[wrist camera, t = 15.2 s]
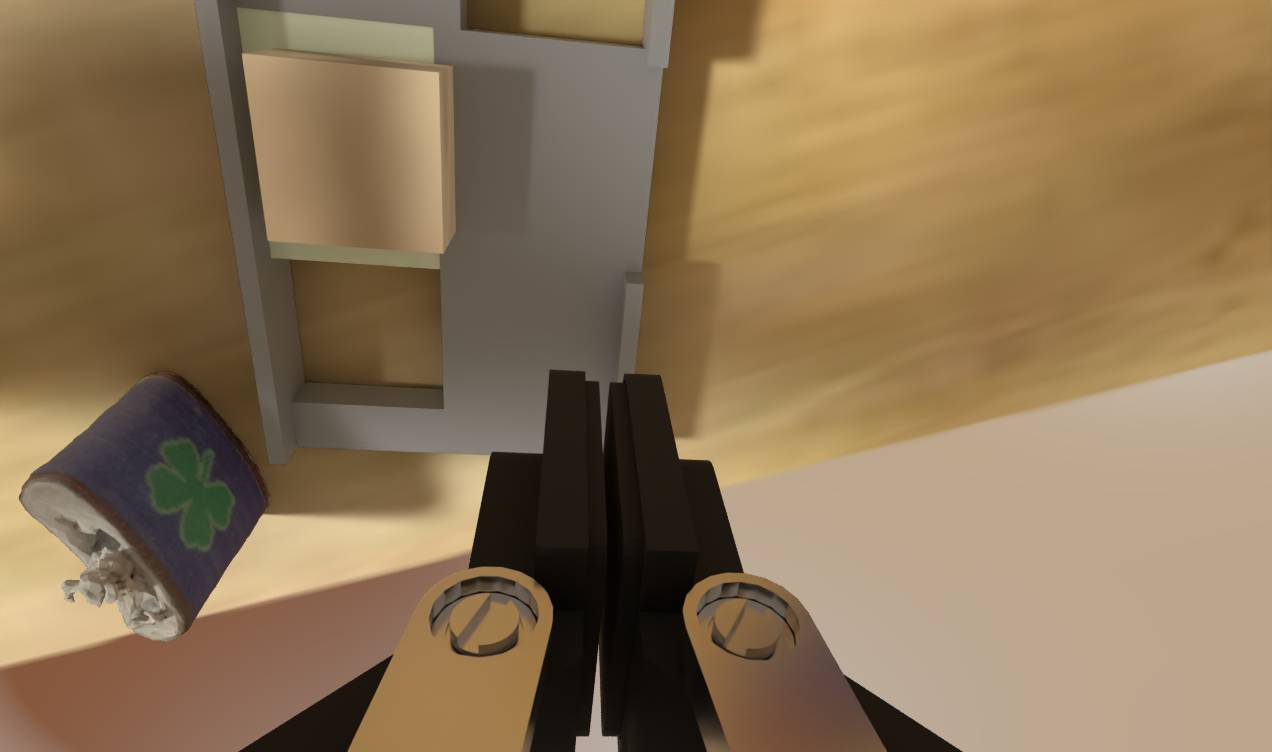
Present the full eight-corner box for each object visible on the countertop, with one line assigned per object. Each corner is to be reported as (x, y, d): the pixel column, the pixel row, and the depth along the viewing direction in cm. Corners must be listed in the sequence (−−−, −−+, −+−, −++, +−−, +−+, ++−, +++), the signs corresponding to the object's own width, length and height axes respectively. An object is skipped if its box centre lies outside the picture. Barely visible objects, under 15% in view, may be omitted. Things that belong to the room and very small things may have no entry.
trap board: (295, 424, 37) (269, 464, 33) (200, -262, 24) (145, -300, 21) (619, 439, 38) (623, 478, 35) (684, -195, 26) (699, -221, 23)
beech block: (296, 219, 30) (267, 240, 27) (275, 48, 27) (241, 53, 24) (455, 231, 31) (443, 253, 28) (452, 65, 28) (438, 72, 25)
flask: (130, 378, 35) (-36, 520, 25) (185, 359, 35) (38, 496, 25) (237, 520, 39) (128, 687, 30) (286, 505, 39) (193, 668, 29)
